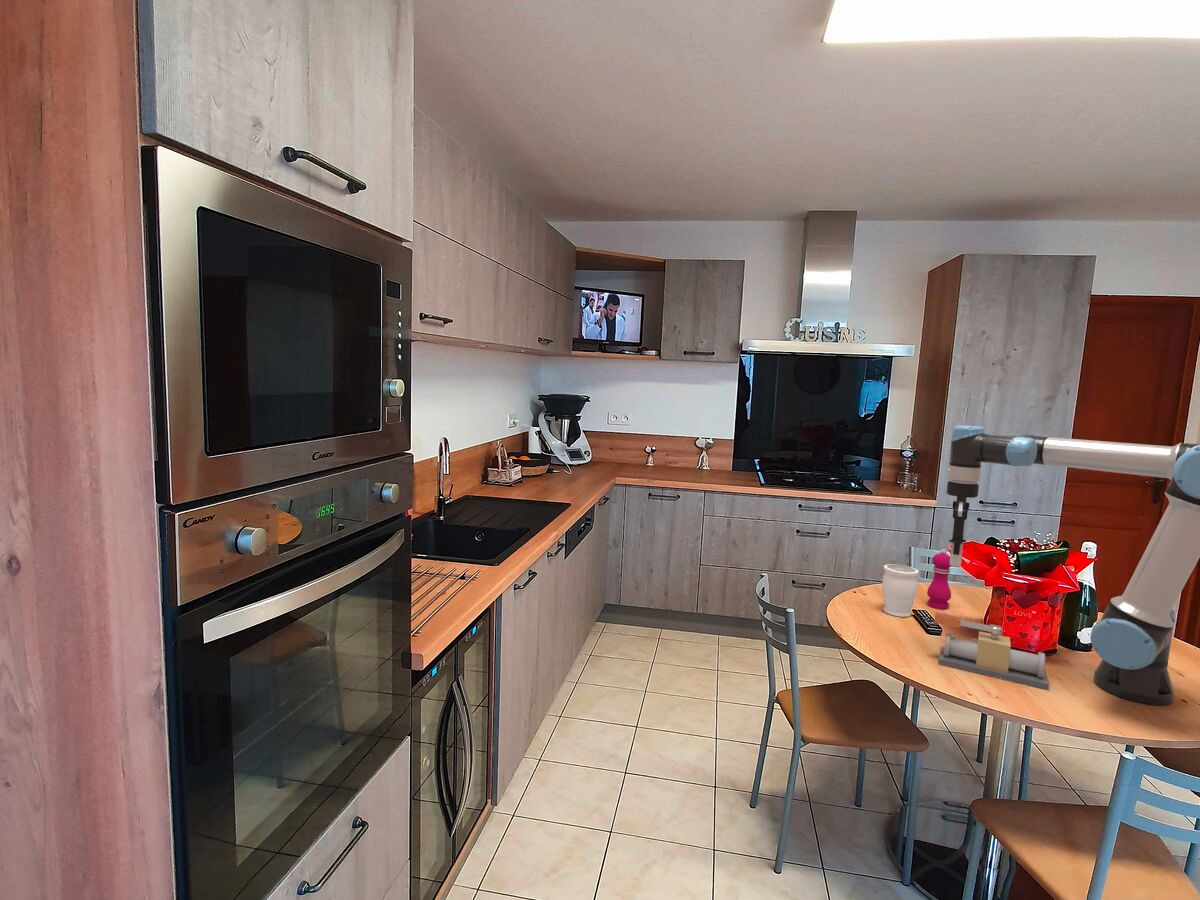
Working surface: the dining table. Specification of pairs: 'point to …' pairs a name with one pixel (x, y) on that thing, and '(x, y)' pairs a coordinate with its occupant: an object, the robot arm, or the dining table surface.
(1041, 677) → the valve
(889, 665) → the dining table surface
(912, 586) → the jar
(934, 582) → the pepper mill
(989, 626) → the valve lever
